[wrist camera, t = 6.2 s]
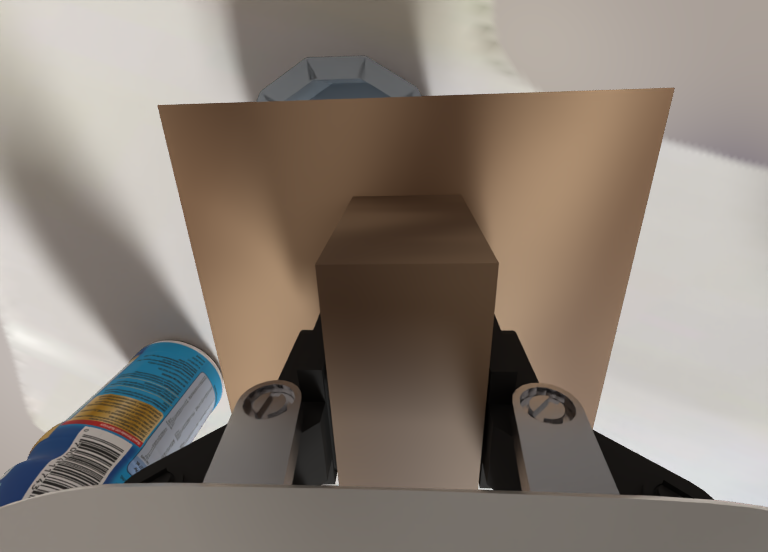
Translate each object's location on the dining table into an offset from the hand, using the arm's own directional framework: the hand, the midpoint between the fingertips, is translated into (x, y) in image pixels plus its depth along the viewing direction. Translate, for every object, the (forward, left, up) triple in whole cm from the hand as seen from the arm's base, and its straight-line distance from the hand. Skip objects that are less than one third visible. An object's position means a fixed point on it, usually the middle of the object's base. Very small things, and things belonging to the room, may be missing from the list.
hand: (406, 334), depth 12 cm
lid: (0, 0, -2) cm, 2 cm away
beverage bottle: (+21, +16, -18) cm, 32 cm away
